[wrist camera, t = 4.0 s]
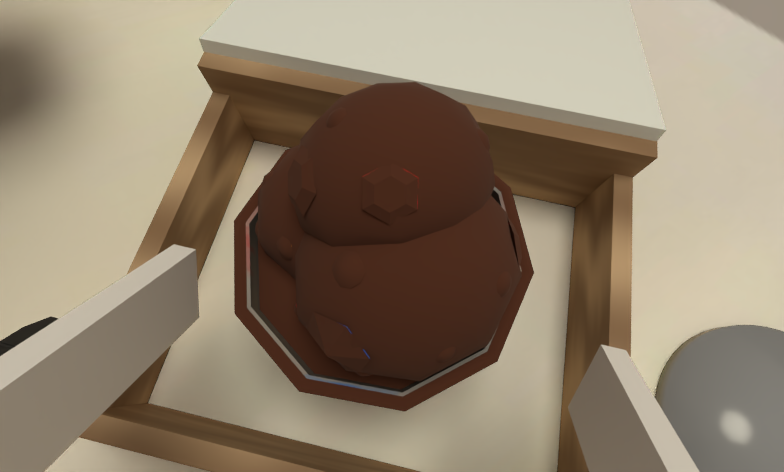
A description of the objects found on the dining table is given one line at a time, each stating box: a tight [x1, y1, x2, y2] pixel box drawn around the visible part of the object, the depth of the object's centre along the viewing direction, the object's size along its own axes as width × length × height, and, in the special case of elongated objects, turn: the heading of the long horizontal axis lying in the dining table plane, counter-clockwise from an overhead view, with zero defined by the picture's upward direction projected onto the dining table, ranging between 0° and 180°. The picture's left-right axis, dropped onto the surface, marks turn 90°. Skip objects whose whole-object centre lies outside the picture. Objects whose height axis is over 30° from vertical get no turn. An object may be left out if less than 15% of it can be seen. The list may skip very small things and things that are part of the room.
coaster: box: [655, 325, 784, 472], centre depth 20 cm, size 12×12×1 cm
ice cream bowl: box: [234, 82, 534, 411], centre depth 16 cm, size 11×11×15 cm
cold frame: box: [79, 52, 657, 472], centre depth 20 cm, size 19×24×6 cm
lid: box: [199, 0, 666, 141], centre depth 26 cm, size 20×24×7 cm
